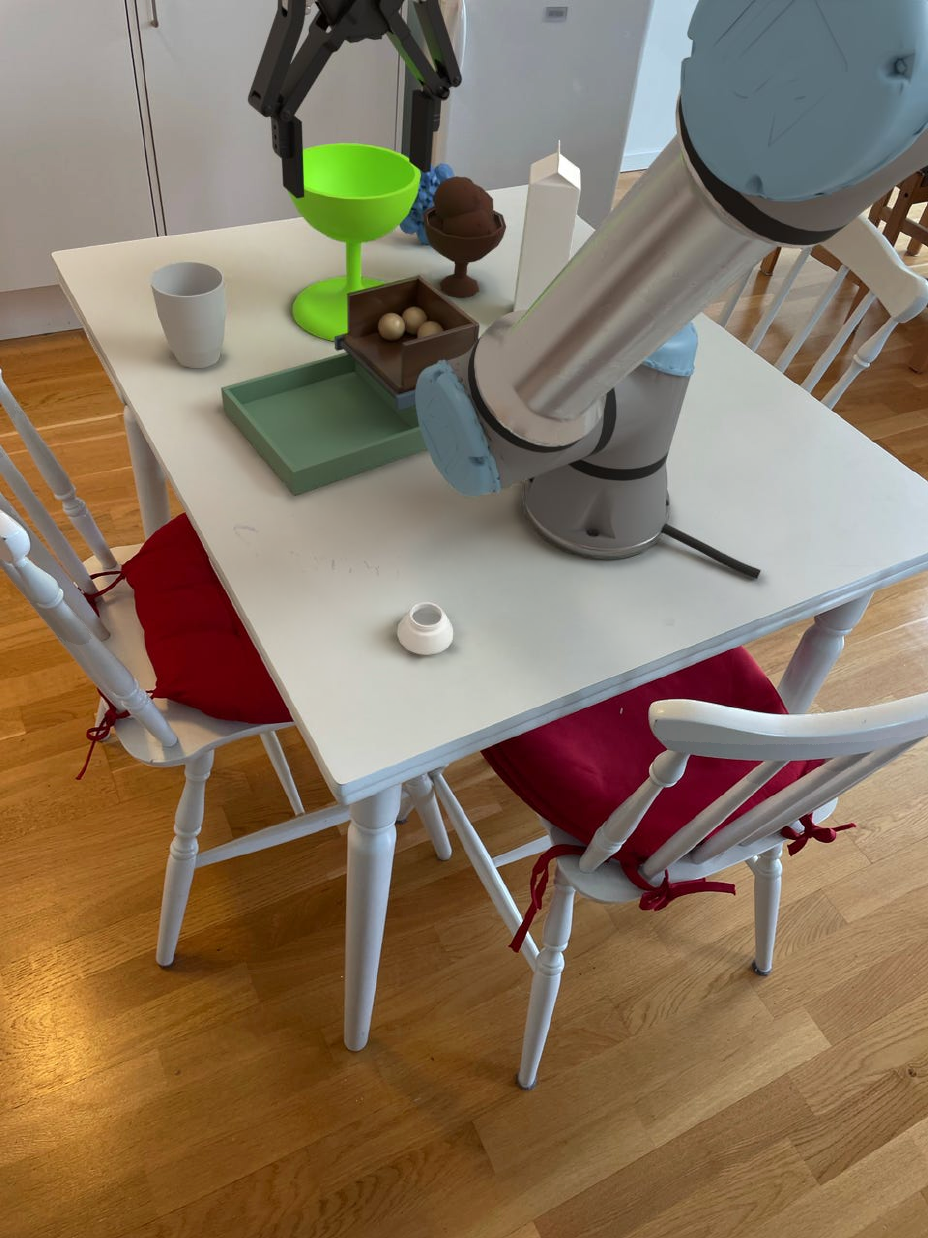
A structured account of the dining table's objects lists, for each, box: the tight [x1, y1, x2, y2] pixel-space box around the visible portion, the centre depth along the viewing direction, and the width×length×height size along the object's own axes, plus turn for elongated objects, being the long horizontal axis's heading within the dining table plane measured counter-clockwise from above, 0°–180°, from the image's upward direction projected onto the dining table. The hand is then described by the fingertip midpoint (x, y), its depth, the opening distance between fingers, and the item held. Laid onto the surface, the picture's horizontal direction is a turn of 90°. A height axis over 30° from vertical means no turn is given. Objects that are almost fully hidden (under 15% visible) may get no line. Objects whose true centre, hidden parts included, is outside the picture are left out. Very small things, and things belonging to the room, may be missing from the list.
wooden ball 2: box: [401, 307, 427, 334], centre depth 109 cm, size 3×3×3 cm
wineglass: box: [286, 142, 421, 342], centre depth 118 cm, size 16×16×18 cm
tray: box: [220, 351, 428, 496], centre depth 106 cm, size 17×17×3 cm
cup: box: [149, 261, 227, 369], centre depth 111 cm, size 8×8×10 cm
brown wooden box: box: [340, 274, 481, 398], centre depth 105 cm, size 12×10×6 cm
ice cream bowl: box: [423, 175, 507, 299], centre depth 126 cm, size 11×11×15 cm
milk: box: [512, 139, 582, 312], centre depth 119 cm, size 6×6×22 cm
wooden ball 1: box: [378, 313, 405, 341], centre depth 108 cm, size 3×3×3 cm
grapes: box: [398, 162, 455, 245], centre depth 135 cm, size 12×7×12 cm, turn 113°
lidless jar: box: [396, 601, 454, 656], centre depth 86 cm, size 5×3×5 cm
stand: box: [334, 334, 416, 410], centre depth 109 cm, size 14×10×7 cm
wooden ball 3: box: [417, 321, 443, 338], centre depth 107 cm, size 3×3×3 cm
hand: (358, 179), depth 90 cm, fingers open, 13 cm apart
